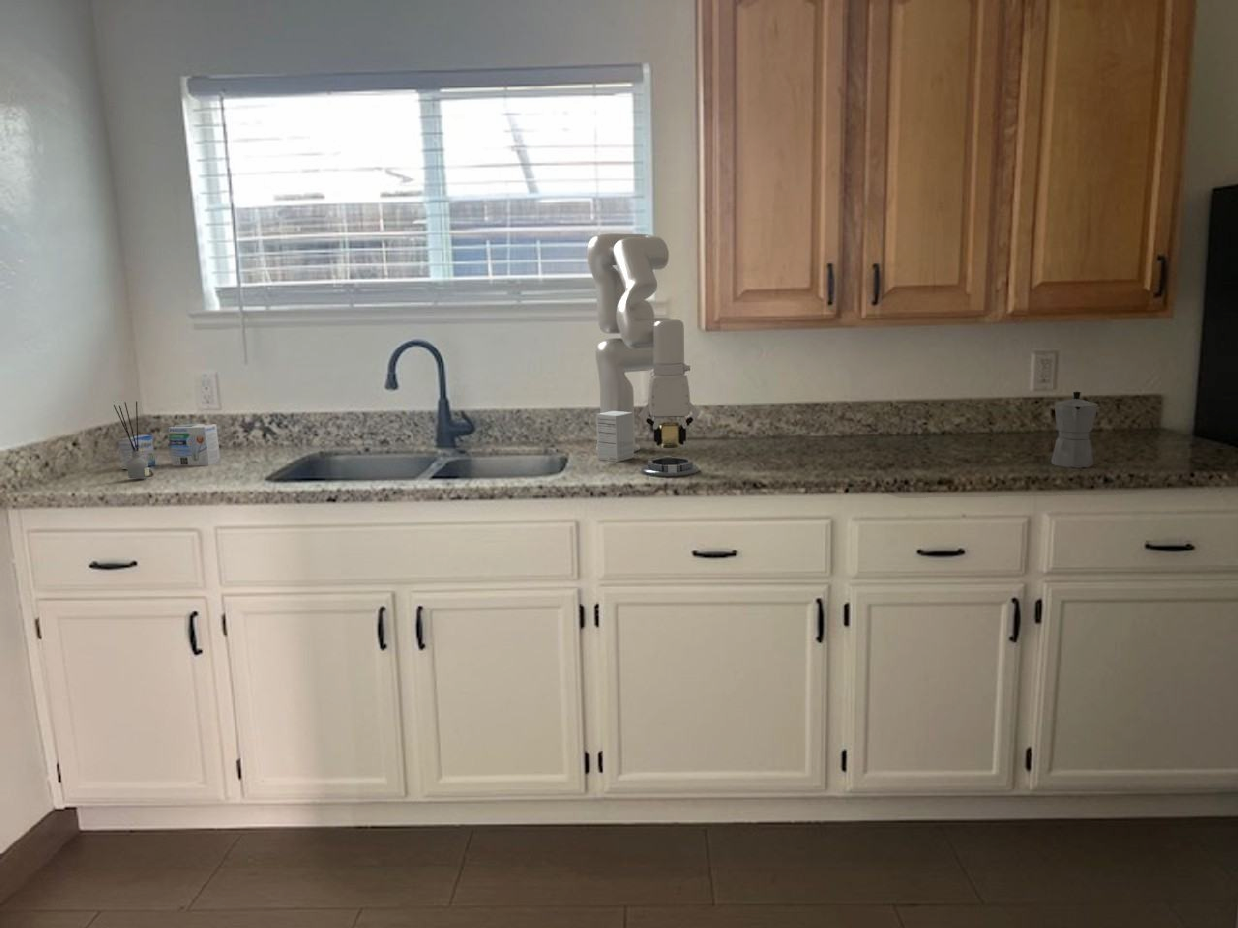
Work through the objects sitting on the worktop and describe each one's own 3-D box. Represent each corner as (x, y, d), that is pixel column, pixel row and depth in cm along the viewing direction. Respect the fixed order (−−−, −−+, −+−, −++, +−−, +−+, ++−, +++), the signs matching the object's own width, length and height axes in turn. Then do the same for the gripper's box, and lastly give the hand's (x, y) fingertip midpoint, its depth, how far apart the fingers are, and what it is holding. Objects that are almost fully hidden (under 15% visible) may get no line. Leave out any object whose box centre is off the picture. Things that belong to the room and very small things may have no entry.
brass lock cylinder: (658, 445, 220) (658, 419, 219) (679, 444, 221) (679, 419, 219) (660, 448, 215) (659, 422, 214) (681, 447, 215) (681, 421, 214)
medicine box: (135, 470, 238) (131, 438, 236) (121, 470, 239) (117, 438, 237) (156, 465, 246) (152, 434, 244) (141, 465, 247) (138, 434, 245)
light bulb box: (171, 466, 244) (167, 427, 242) (184, 461, 250) (180, 424, 248) (209, 465, 243) (205, 426, 241) (221, 461, 250) (217, 423, 248)
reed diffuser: (139, 482, 221) (129, 403, 217) (112, 483, 221) (101, 404, 217) (160, 474, 231) (151, 398, 227) (134, 475, 231) (124, 399, 227)
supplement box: (614, 455, 244) (612, 410, 241) (635, 458, 239) (634, 412, 237) (596, 459, 238) (595, 413, 236) (617, 462, 233) (616, 415, 231)
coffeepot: (1095, 470, 209) (1101, 394, 206) (1051, 468, 213) (1056, 394, 209) (1090, 459, 223) (1095, 388, 220) (1048, 457, 227) (1053, 387, 223)
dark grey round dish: (640, 467, 226) (640, 456, 225) (694, 465, 226) (694, 455, 226) (643, 478, 212) (643, 466, 212) (701, 476, 213) (701, 465, 212)
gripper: (702, 368, 219) (702, 441, 222) (633, 370, 218) (634, 443, 221) (705, 371, 211) (706, 445, 214) (634, 372, 211) (635, 447, 214)
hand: (669, 443), depth 218 cm, fingers closed on brass lock cylinder, 5 cm apart
